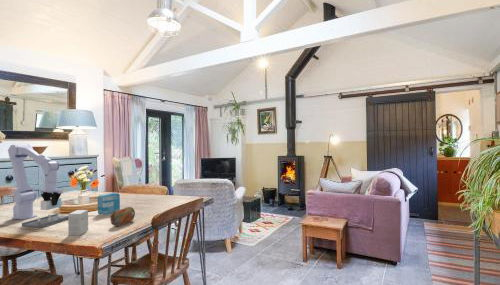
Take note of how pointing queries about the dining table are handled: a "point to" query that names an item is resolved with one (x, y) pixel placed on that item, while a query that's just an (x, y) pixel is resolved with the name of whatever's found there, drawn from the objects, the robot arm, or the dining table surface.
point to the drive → (49, 204)
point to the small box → (77, 222)
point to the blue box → (108, 203)
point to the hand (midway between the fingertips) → (51, 205)
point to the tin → (122, 216)
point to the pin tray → (45, 221)
